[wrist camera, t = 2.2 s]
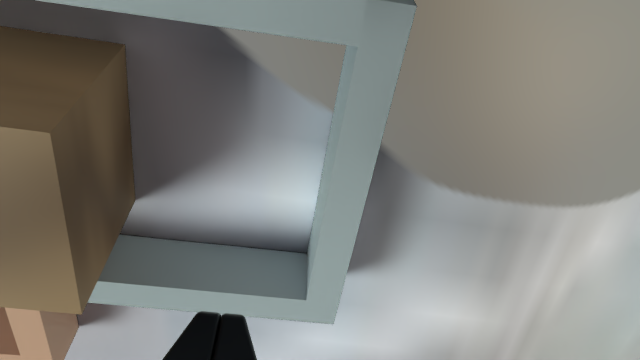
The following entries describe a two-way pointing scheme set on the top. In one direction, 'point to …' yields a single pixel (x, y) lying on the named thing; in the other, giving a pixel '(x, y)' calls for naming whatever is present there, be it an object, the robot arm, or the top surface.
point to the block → (61, 166)
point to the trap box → (332, 203)
